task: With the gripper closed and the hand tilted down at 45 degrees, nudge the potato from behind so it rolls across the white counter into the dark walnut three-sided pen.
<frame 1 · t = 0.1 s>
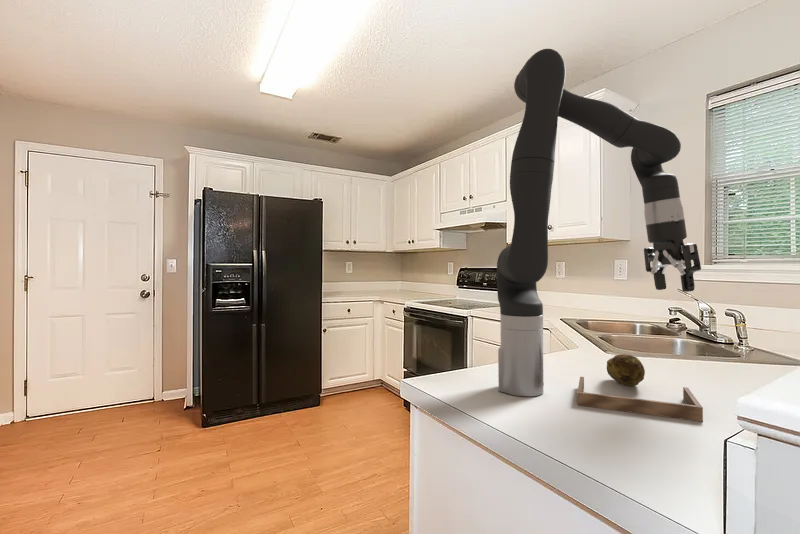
hand: (674, 290, 93), 22 cm above the counter, tool pointing down, fingers open, 8 cm apart
potato: (624, 387, 94), on the counter
tray: (633, 401, 83), on the counter
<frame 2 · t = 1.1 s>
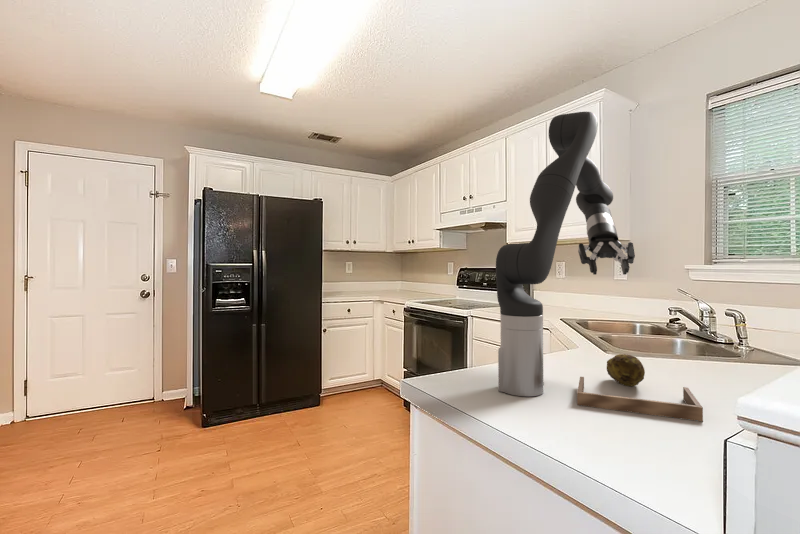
hand: (610, 272, 107), 27 cm above the counter, tool tilted 45°, fingers open, 6 cm apart
nothing on the counter moved.
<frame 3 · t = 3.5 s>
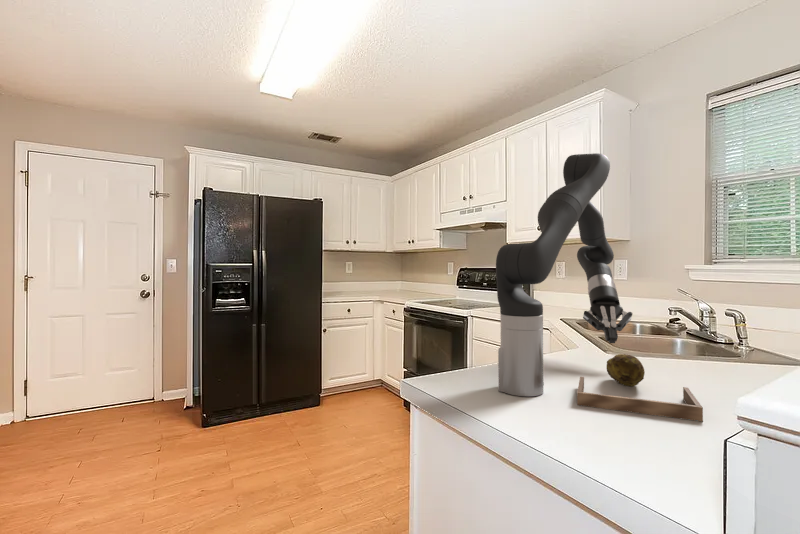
hand: (612, 341, 108), 8 cm above the counter, tool tilted 45°, fingers closed
nothing on the counter moved.
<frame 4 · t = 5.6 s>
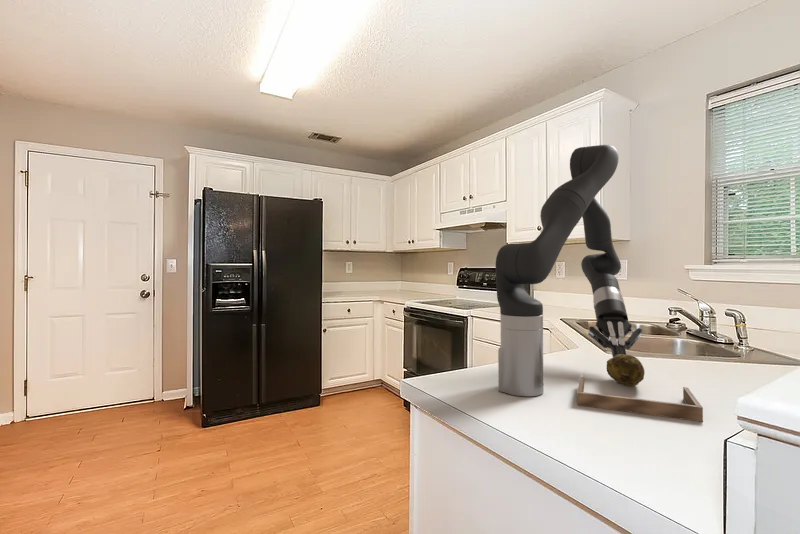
hand: (620, 360, 100), 5 cm above the counter, tool tilted 45°, fingers closed
potato: (624, 387, 94), on the counter, touching gripper
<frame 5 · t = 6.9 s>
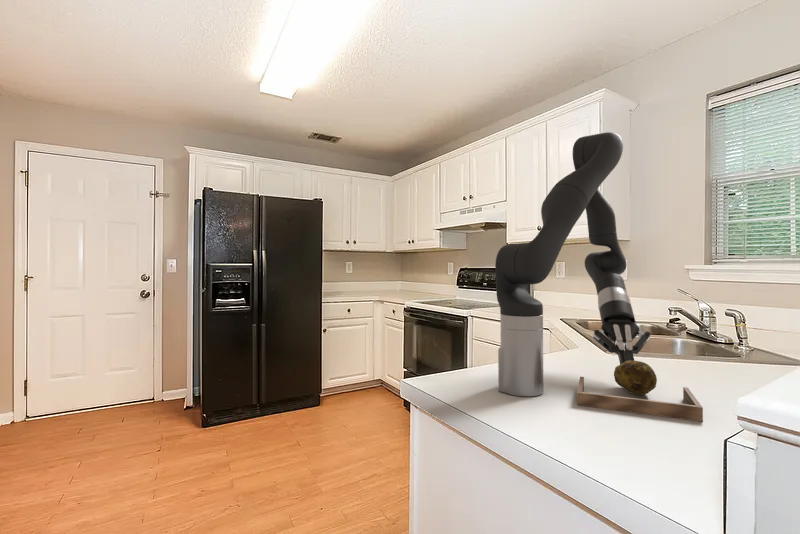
hand: (628, 366, 93), 5 cm above the counter, tool tilted 45°, fingers closed
potato: (634, 395, 88), on the counter, touching gripper
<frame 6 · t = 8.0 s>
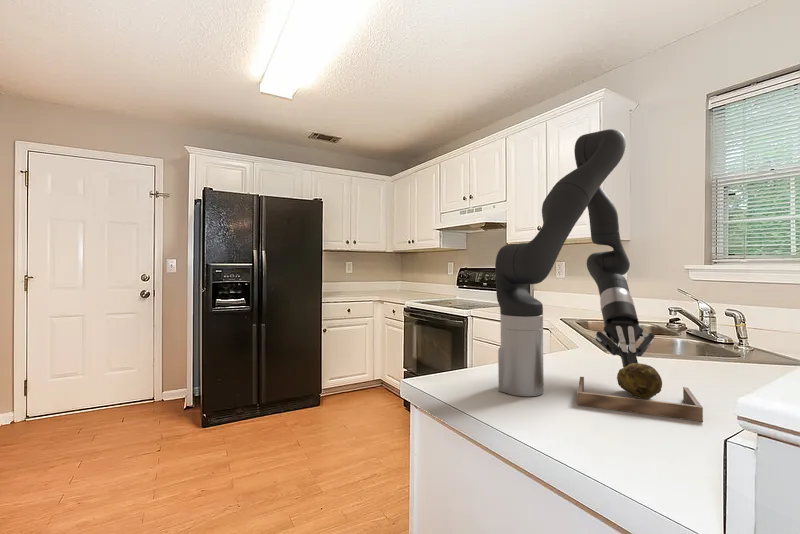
hand: (631, 369, 91), 5 cm above the counter, tool tilted 45°, fingers closed
potato: (638, 399, 85), on the counter, touching gripper
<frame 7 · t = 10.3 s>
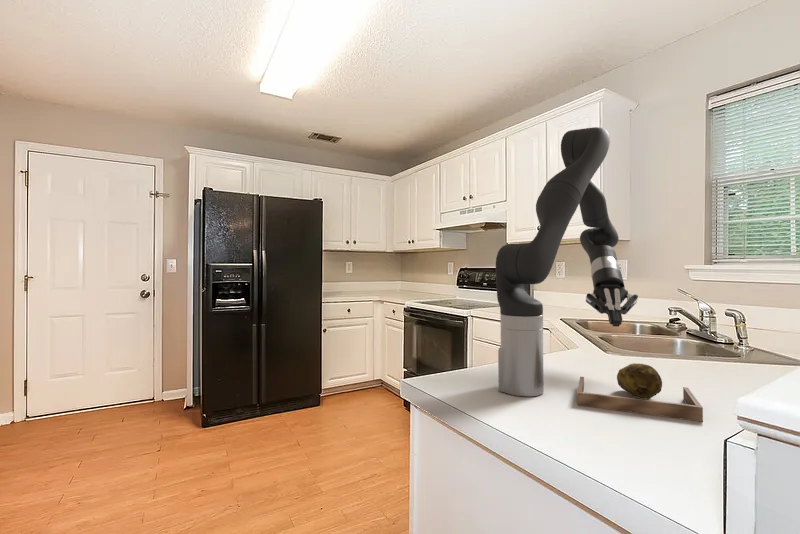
hand: (616, 324, 102), 13 cm above the counter, tool tilted 45°, fingers closed
potato: (638, 399, 85), on the counter
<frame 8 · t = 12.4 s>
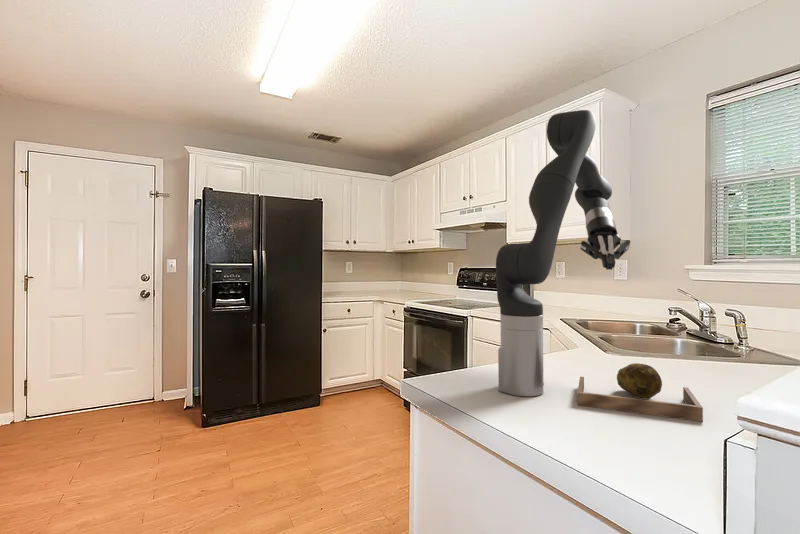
hand: (609, 267, 107), 28 cm above the counter, tool tilted 45°, fingers closed
nothing on the counter moved.
at the end: potato inside the target area on the tray (2.6 cm from its centre), point 0.0 cm above the tray's base; potato moved 9.3 cm from its start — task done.
